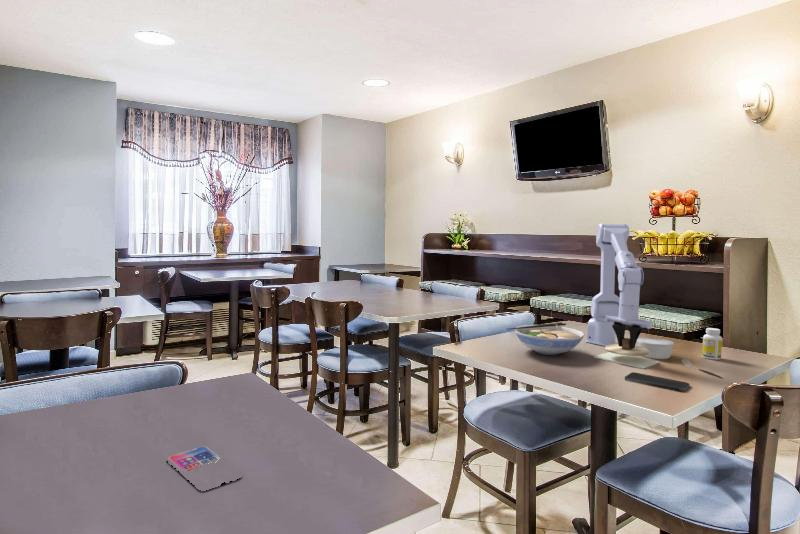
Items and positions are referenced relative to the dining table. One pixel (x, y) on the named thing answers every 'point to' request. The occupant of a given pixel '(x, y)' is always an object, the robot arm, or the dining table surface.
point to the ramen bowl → (549, 338)
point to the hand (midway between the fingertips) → (626, 347)
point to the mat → (627, 360)
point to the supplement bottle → (712, 344)
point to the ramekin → (656, 347)
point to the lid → (626, 349)
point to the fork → (700, 369)
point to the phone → (657, 382)
